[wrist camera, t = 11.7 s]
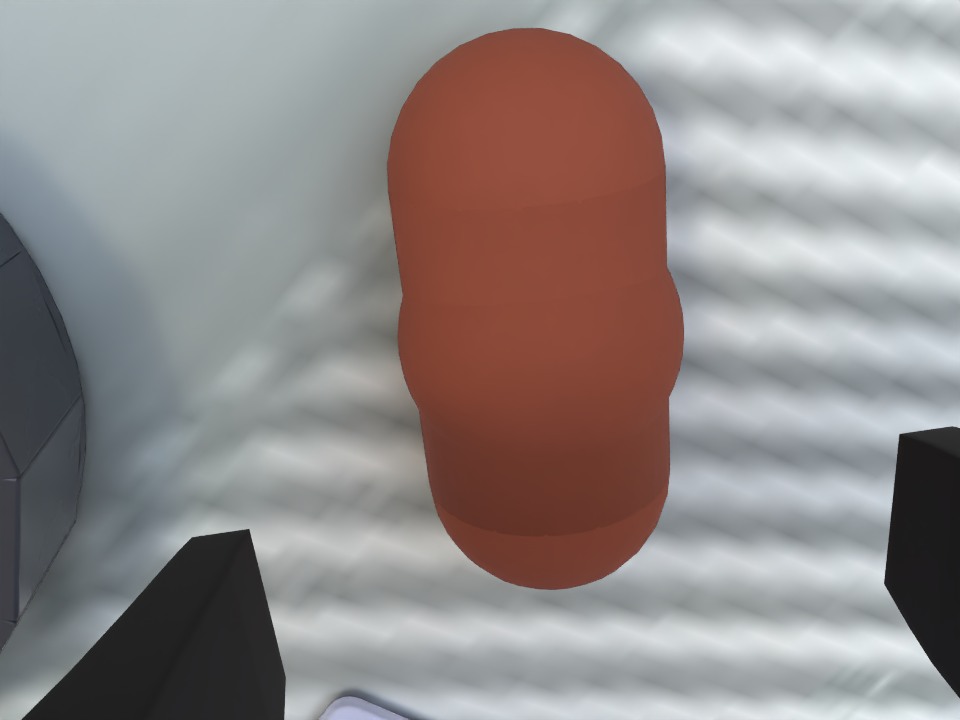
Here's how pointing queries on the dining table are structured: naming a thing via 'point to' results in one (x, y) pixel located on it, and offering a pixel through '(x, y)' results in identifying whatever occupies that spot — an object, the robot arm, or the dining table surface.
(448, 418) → the sweet potato
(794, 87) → the dining table surface
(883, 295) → the dining table surface
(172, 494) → the dining table surface
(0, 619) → the pan
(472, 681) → the dining table surface
